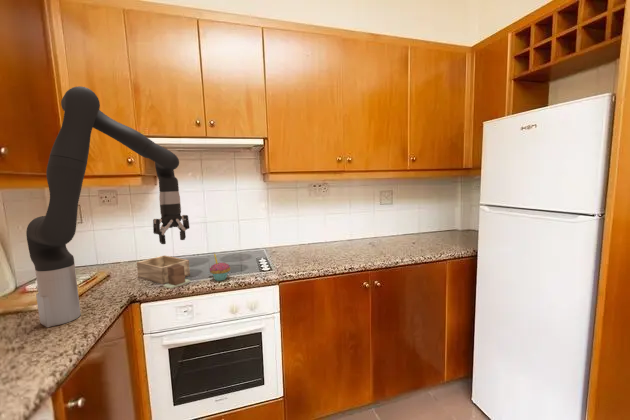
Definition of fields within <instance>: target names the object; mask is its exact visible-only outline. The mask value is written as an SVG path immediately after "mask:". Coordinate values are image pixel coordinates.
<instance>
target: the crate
mask: <svg viewBox="0 0 630 420" xmlns="http://www.w3.org/2000/svg"><path fill="white" fill-rule="evenodd" d="M177 264H178V265H182V266H184V272H185V278H186V277H188V276H190V275H191V273H190V271H191V270H190V260H189V259H185V258H179V257H175V256H169V255H161V256H158V257H157V256H156V257H153V258H149V259H144V260H141V261H137V262H136V267H137V268H136V269H137V278H140V279H143V280H147V281H148V282H152V283H153V282H154V283H157V284H160V285H166V284H169V280H168V268H167V267H170V266H174V265H177Z"/></svg>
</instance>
